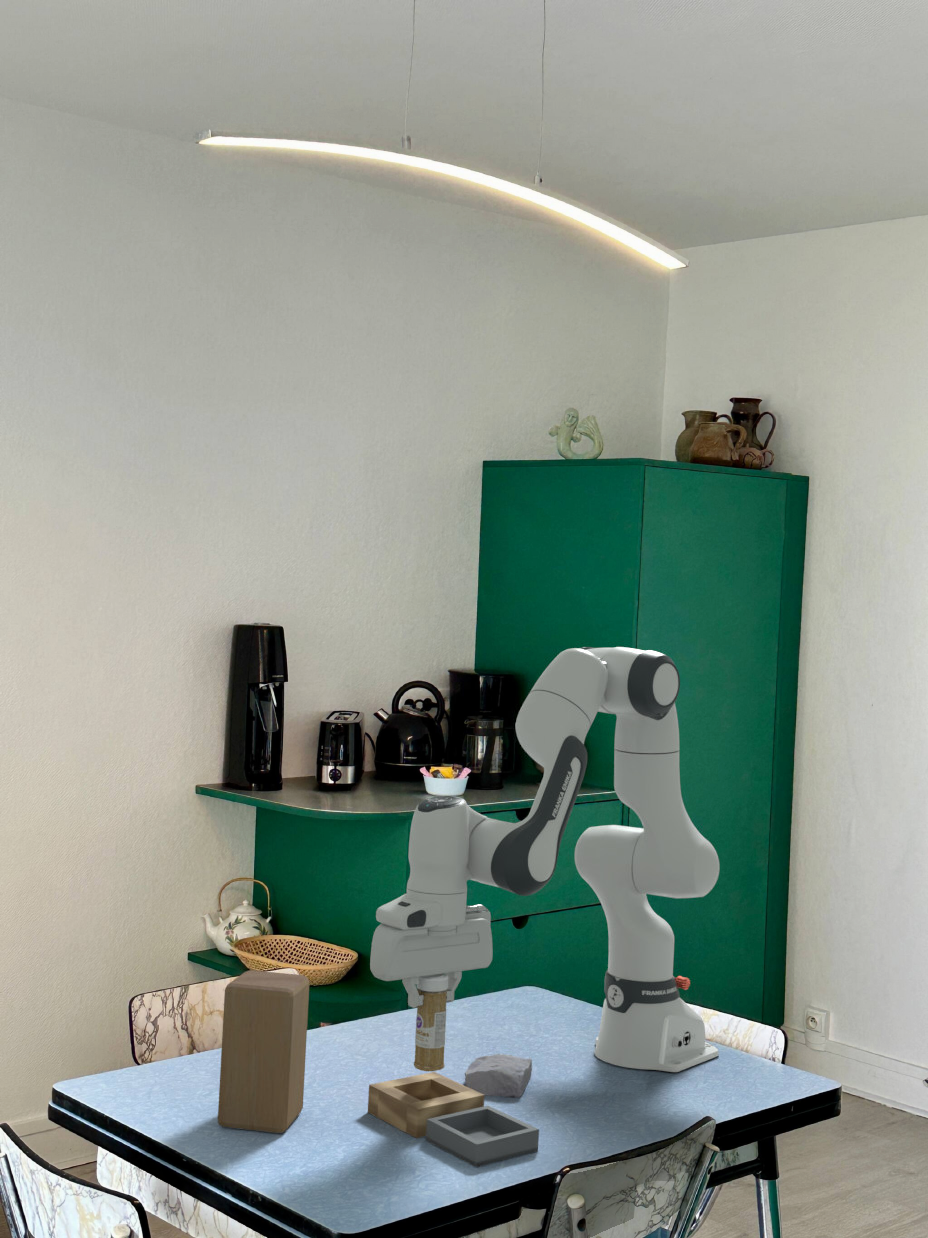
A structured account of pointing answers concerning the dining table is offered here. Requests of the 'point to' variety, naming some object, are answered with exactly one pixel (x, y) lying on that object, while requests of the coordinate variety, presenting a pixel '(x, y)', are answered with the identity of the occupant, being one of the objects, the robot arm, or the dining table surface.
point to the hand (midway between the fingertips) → (430, 1004)
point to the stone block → (499, 1075)
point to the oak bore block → (420, 1101)
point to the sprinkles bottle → (431, 1023)
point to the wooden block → (263, 1051)
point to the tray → (482, 1135)
